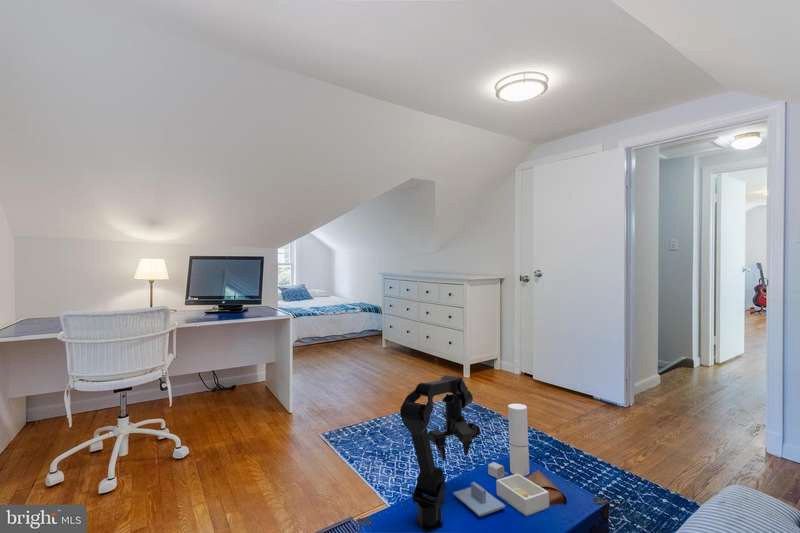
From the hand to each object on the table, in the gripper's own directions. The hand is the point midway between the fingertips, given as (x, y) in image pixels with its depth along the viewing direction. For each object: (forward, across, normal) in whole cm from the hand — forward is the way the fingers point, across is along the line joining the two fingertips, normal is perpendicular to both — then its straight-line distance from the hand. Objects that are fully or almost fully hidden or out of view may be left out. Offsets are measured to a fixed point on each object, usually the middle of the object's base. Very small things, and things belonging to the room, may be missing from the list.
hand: (454, 457), depth 133 cm
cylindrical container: (+13, +32, +3) cm, 35 cm away
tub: (+13, +18, -13) cm, 26 cm away
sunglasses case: (+14, +29, -12) cm, 34 cm away
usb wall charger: (+13, +22, +3) cm, 26 cm away
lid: (+13, +4, -8) cm, 16 cm away
